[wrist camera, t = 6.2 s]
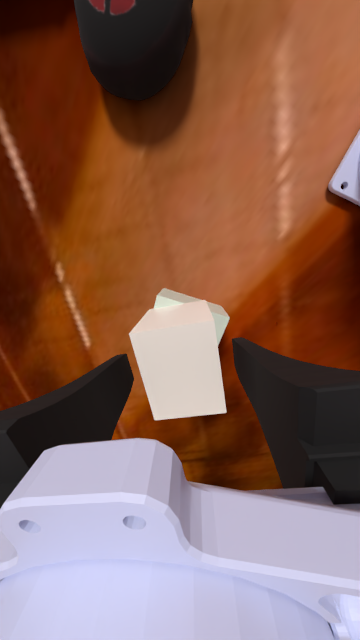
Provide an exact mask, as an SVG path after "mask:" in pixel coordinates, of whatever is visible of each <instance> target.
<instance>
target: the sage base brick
mask: <svg viewBox="0 0 360 640" xmlns="http://www.w3.org/2000/svg"><path fill="white" fill-rule="evenodd" d="M196 301H201V300H200V299H197V298H194V297H191V296H187V295H184V294H181V293H178V292H175V291H172V290H168V289H165V288H163V290H162V291H161V292H160V293H159V294H158V295H157V298H156V302H155V305H154V309H155V308H161V307H166V306H172V305H178V304H184V303H190V302H196ZM206 303H207V305H208V307H209V309H210V312H211V314H212V316H213V318H214V322H215V329H216V337H217V344H218V345H219V342H220V340H221V338H222V335H223V333H224V330H225V328H226V326H227V323H228V321H229V319H230V317H229V316H228V314H227V313H226V312H225V310H224V309H223V308H222V306H219V305H216V304H213V303H210V302H206Z"/></svg>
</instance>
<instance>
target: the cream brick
mask: <svg viewBox="0 0 360 640" xmlns="http://www.w3.org/2000/svg"><path fill="white" fill-rule="evenodd" d="M129 336H130V339H131V342H132V346H133V349H134V352H135V356H136V359H137V363H138V366H139V369H140V373H141V376H142V379H143V383H144V386H145V389H146V393H147V396H148V400H149V403H150V406H151V410H152V413H153V416H154V420H163V419H173V418H182V417H192V416H202V415H211V414H221V413H227V412H226V405H225V397H224V390H223V382H222V375H221V367H220V359H219V352H218V344H217V337H216V329H215V322H214V318H213V316H212V314H211V312H210V309H209V307H208V305H207V303H206V300H201V301H196V302H190V303H184V304H178V305H172V306H166V307H161V308H155V309H149V310H148V312H147V313H146V314H145V315H144V316H143V318H142V319H141V320H140V321H139V322H138V324H137V325H136V326H135V327H134V328H133V330H132V331H131V332H130V333H129Z"/></svg>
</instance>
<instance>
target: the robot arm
mask: <svg viewBox="0 0 360 640" xmlns="http://www.w3.org/2000/svg"><path fill="white" fill-rule="evenodd" d="M341 184H343V185H344V188H343V190H342V189H341ZM328 188H329V190H330V191H331V192H332V193H334V194H336V195H338V196H340V197H343V198H345V199H347V200H349V201H351V202H353V203H355V204H357V205H359V206H360V130H359V132H358V133H357V135H356V137H355V139H354V140H353V142H352V144H351V146H350V147H349V149H348V151H347V153H346V154H345V156H344V158H343V160H342V161H341V163H340V165H339V167H338V168H337V170H336V172H335V174H334V175H333V177H332V179H331V181H330V183H329V186H328ZM232 343H233V353H234V364H235V368H236V371H237V374H238V377H239V380H240V382H241V384H242V386H243V388H244V390H245V392H246V394H247V396H248V398H249V400H250V402H251V404H252V406H253V408H254V410H255V412H256V414H257V416H258V419H259V422H260V424H261V427H262V429H263V432H264V435H265V438H266V440H267V443H268V446H269V448H270V451H271V454H272V457H273V460H274V462H275V465H276V468H277V471H278V474H279V477H280V480H281V483H282V486H283V489H271V490H253V491H242V490H236V489H230V488H224V487H219V486H213V485H207V484H201V483H195V482H189V481H187V480H186V478H185V475H184V471H183V467H182V463H181V461H180V460H179V458H178V457H177V455H176V454H175V452H174V451H173V449H171V448H170V447H168V446H167V445H165V444H163V443H161V442H159V441H157V440H154V439H145V438H130V439H119V440H111V439H112V436H113V433H114V430H115V427H116V424H117V422H118V420H119V417H120V415H121V413H122V411H123V408H124V406H125V404H126V401H127V399H128V397H129V394H130V392H131V388H132V385H133V381H134V377H133V374H132V370H131V367H130V364H129V361H128V357H127V354H120V355H116V356H114V357H113V358H111V359H109V360H107V361H106V362H104V363H103V364H101V365H99V366H98V367H96V368H95V369H93V370H92V371H90V372H88V373H87V374H85V375H83V376H82V377H80V378H78V379H76V380H75V381H73V382H71V383H69V384H67V385H65V386H63V387H61V388H59V389H57V390H55V391H52V392H50V393H48V394H45V395H43V396H41V397H39V398H36V399H34V400H31V401H28V402H26V403H23V404H20V405H18V406H15V407H12V408H9V409H6V410H3V411H0V640H360V371H353V370H344V369H338V368H332V367H325V366H320V365H315V364H311V363H307V362H302V361H299V360H295V359H292V358H289V357H285V356H282V355H280V354H277V353H275V352H272V351H270V350H267V349H265V348H263V347H261V346H259V345H257V344H255V343H253V342H251V341H249V340H247V339H245V338H242V337H241V338H234V339H232Z"/></svg>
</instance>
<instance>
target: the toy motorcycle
mask: <svg viewBox="0 0 360 640" xmlns="http://www.w3.org/2000/svg"><path fill="white" fill-rule="evenodd" d="M192 3H193V0H74V4H75V11H76V16H77V21H78V26H79V32H80V38H81V42H82V46H83V49H84V52H85V55H86V58H87V61H88V64H89V67H90V70H91V72H92V74H93V75H94V76H95V78H96V79H97V80H98V82H99V83H100V84H101V85H102V86H103V87H104V88H105V89H106V90H107V91H108V92H110V93H111V94H113V95H115V96H118V97H122V98H126V99H130V100H144V99H147V98H149V97H151V96H153V95H155V94H156V93H157V92H159V91H160V90H161V89H162V88H164V87H165V86H166V84H167V83H168V82H169V81H170V80H171V78H172V77H173V76H174V74H175V72H176V70H177V68H178V66H179V64H180V62H181V59H182V56H183V53H184V49H185V47H186V44H187V41H188V38H189V34H190V29H191V25H192V17H191V9H192Z"/></svg>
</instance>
